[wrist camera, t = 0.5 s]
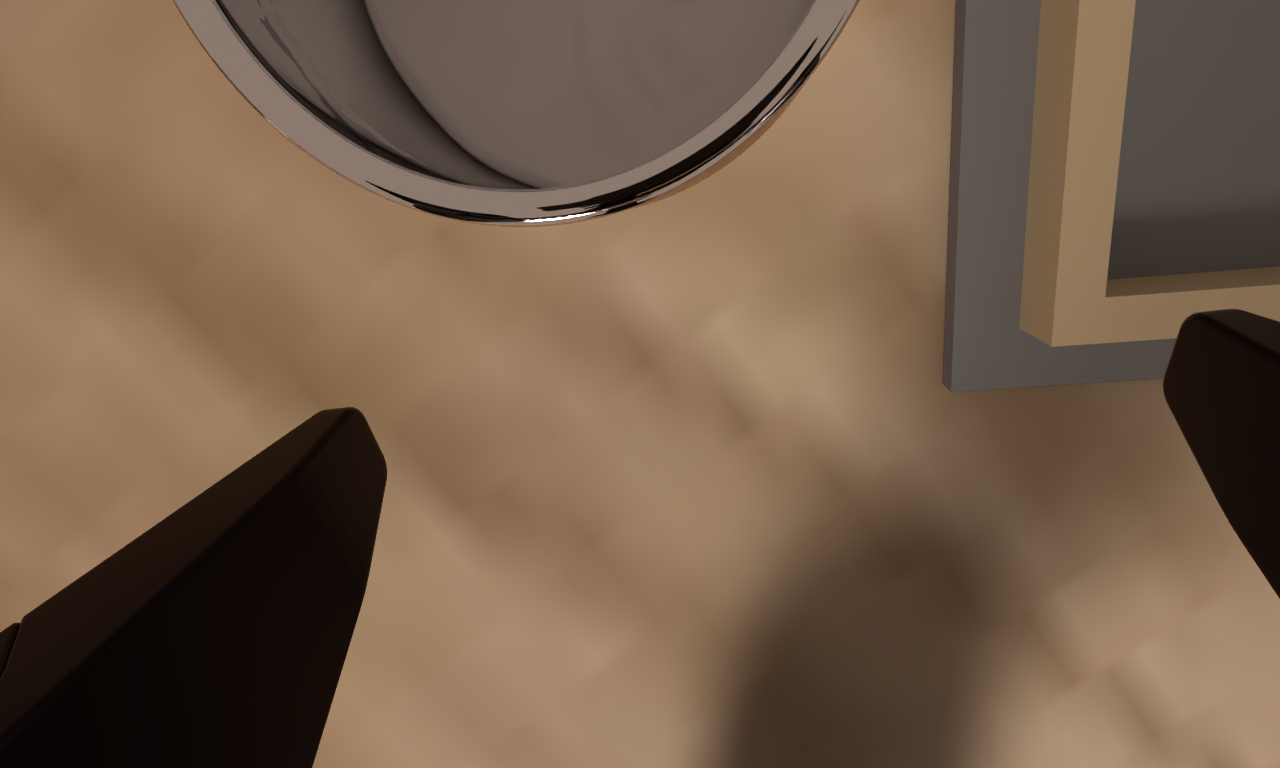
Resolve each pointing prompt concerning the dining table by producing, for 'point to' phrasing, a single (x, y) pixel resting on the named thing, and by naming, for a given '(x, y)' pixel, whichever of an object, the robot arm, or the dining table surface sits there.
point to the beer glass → (519, 93)
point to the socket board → (1106, 183)
